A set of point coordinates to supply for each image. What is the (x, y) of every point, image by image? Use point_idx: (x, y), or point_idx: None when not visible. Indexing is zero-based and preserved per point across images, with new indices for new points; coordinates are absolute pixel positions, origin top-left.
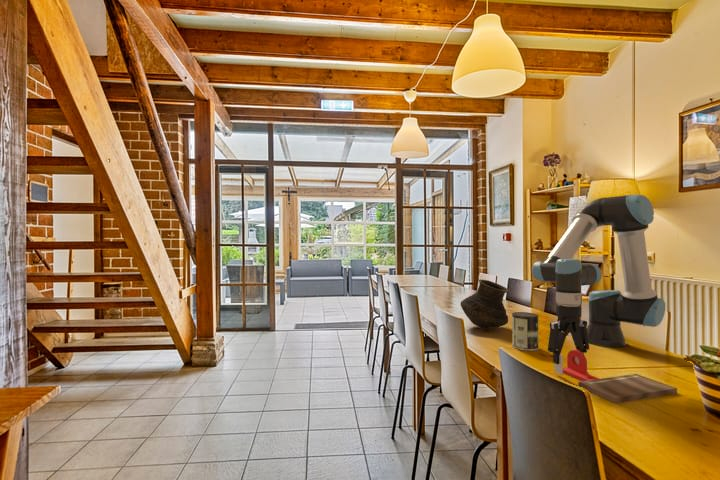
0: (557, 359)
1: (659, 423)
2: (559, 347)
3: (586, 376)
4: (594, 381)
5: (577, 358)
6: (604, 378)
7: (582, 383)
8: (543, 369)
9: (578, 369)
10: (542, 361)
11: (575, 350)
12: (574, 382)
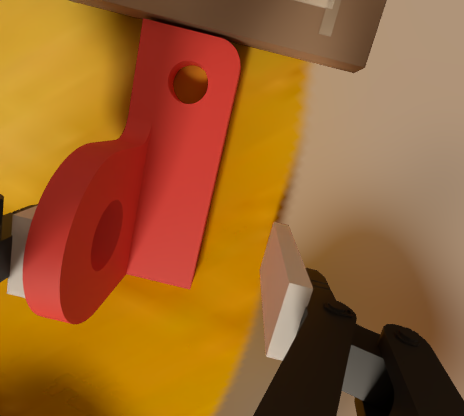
0: (321, 288)
1: None
2: (348, 352)
3: (180, 111)
4: (255, 5)
5: None
6: (124, 1)
7: (372, 32)
8: (245, 343)
9: (134, 194)
10: (124, 412)
11: (56, 274)
12: (297, 129)
